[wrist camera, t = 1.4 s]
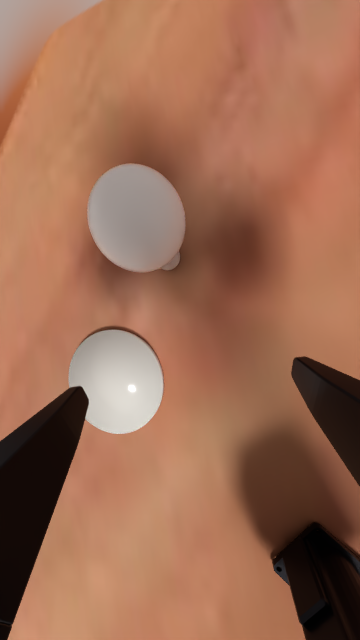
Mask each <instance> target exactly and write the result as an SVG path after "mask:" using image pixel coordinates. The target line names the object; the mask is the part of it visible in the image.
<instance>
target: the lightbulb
mask: <svg viewBox="0 0 360 640" xmlns="http://www.w3.org/2000/svg"><path fill="white" fill-rule="evenodd" d="M87 220H88V225H89V229H90V232H91V235H92V238H93V240H94V242H95V243H96V245H97V247H98V248H99V250H100V251H101V252H102V253H103V254H104V256H105V257H106V258H108V259H109V260H110V261H111V262H112V263H114V264H115V265H117V266H119V267H121V268H123V269H125V270H128V271H132V272H141V273H143V272H151V271H155V270H157V269H160V268H161V269H163V270H172V269H174V268H175V267H176V266H177V265H178V264H179V261H180V252H179V249H180V248H181V245H182V243H183V240H184V236H185V229H186V219H185V212H184V207H183V204H182V201H181V199H180V197H179V195H178V193H177V191H176V190H175V188H174V187H173V185H172V184H171V183H170V182H169V181H168V180H167V179H166V178H165V177H164V176H163V175H162V174H161V173H159V172H158V171H156V170H154V169H153V168H150V167H148V166H145V165H142V164H135V163H127V164H121V165H118V166H115V167H113V168H111V169H109V170H108V171H106V172H105V173H104V174H102V175H101V176H100V178H99V179H98V180H97V181H96V183H95V184H94V186H93V188H92V190H91V193H90V195H89V199H88V205H87Z"/></svg>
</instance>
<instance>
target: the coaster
mask: <svg viewBox="0 0 360 640" xmlns="http://www.w3.org/2000/svg"><path fill="white" fill-rule="evenodd" d="M74 386H81V387H83V389H84V391H85V393H86V395H87V397H88V399H89V406H88V409H87V413H86V417H85V419H86V420H87V421H88V422H89V423H91V424H92V425H94V426H95V427H97V428H99V429H100V430H103V431H106V432H109V433H114V434H124V433H129V432H133V431H135V430H138V429H139V428H141V427H143V426H144V425H145V424H147V423H148V422H149V421H150V419H151V418H152V417H153V416H154V414H155V413H156V411H157V410H158V408H159V406H160V404H161V401H162V397H163V392H164V375H163V370H162V367H161V364H160V362H159V359H158V357H157V356H156V354H155V352H154V351H153V349H152V348H151V347H150V346H149V345H148V344H147V343H146V342H145V341H144V340H143V339H141V338H140V337H138V336H137V335H135V334H133V333H130V332H127V331H123V330H105V331H100V332H98V333H95V334H93V335H91V336H89V337H88V338H87V339H85V340H84V341H83V342H82V343H81V344H80V346H79V347H78V348H77V350H76V352H75V353H74V355H73V358H72V360H71V364H70V368H69V387H74Z"/></svg>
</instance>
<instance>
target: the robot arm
mask: <svg viewBox="0 0 360 640" xmlns="http://www.w3.org/2000/svg"><path fill="white" fill-rule="evenodd" d="M291 374H292V378H293V380H294V382H295V384H296V386H297V388H298V390H299V391H300V393H301V395H302V397H303V399H304V401H305V403H306V405H307V406H308V408H309V410H310V412H311V414H312V415H313V417H314V418H315V420H316V421H317V423H318V425H319V426H320V428H321V429H322V431H323V432H324V434H325V435H326V437H327V438H328V440H329V441H330V443H331V444H332V446H333V447H334V449H335V450H336V452H337V453H338V455H339V456H340V458H341V459H342V461H343V462H344V464H345V465H346V467H347V468H348V470H349V471H350V473H351V474H352V476H353V477H354V479H355V480H356V482H357V483H358V485H359V486H360V380H358V379H356V378H353V377H351V376H349V375H347V374H344V373H342V372H340V371H337V370H335V369H333V368H331V367H328V366H326V365H324V364H322V363H319V362H317V361H315V360H313V359H310V358H308V357H305V356H303V357H296V358H294V360H293V366H292V372H291ZM88 406H89V399H88V397H87V395H86V393H85V391H84V389H83V387H81V386H74V387H70V388H69V389H68V390H66V391H65V392H64V393H62V394H61V395H60V396H59V397H57V398H56V399H55V400H53V401H52V402H51V403H49V404H48V405H47V406H46V407H44V408H43V409H42V410H40V411H39V412H38V413H36V414H35V415H34V416H33V417H31V418H30V419H29V420H27V421H26V422H25V423H23V424H22V425H21V426H20V427H18V428H17V429H16V430H14V431H13V432H12V433H10V434H9V435H8V436H7V437H5V438H4V439H3V440H1V441H0V640H7V639H8V636H9V634H10V631H11V628H12V624H13V622H14V619H15V617H16V614H17V611H18V608H19V606H20V603H21V600H22V597H23V595H24V592H25V589H26V586H27V584H28V581H29V578H30V575H31V573H32V570H33V567H34V564H35V562H36V559H37V556H38V553H39V551H40V548H41V545H42V542H43V539H44V537H45V534H46V531H47V528H48V526H49V523H50V520H51V517H52V515H53V512H54V509H55V506H56V504H57V501H58V498H59V495H60V493H61V490H62V487H63V484H64V482H65V479H66V476H67V473H68V471H69V468H70V465H71V462H72V460H73V457H74V454H75V451H76V449H77V446H78V443H79V439H80V436H81V432H82V429H83V425H84V421H85V417H86V413H87V409H88ZM317 530H319V531H317ZM272 564H273V568H274V571H275V572H276V573H277V574H278V575H279V576H280V577H281V578H282V579H283V580H284V581H285V582H286V583H287V584H288V585H289V586H290V589H291V593H292V596H293V600H294V604H295V608H296V612H297V616H298V619H299V622H300V623H301V624H302V627H303V631H304V635H305V639H306V640H360V559H359V558H358V557H357V556H356V555H355V554H353V553H352V552H351V551H350V550H349V549H348V548H346V547H345V546H344V545H343V544H342V543H341V542H340V541H338V540H337V539H336V538H335V537H334V536H333V535H332V534H330V533H329V532H328V531H327V530H326V529H325V528H323V527H322V526H321V525H320V524H318V523H313V524H311V525H310V526H309V527H308V528H307V529H306V530H305V531H304V532H303V533H302V534H300V535H299V536H298V537H297V538H296V539H295V540H294V541H293V542H292V543H291V544H290V545H289V546H288V547H287V548H285V549H284V550H283V551H282V552H281V553H280V554H279V555H278V556H277V557H276V558H275V559H274V560H273V561H272Z"/></svg>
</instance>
